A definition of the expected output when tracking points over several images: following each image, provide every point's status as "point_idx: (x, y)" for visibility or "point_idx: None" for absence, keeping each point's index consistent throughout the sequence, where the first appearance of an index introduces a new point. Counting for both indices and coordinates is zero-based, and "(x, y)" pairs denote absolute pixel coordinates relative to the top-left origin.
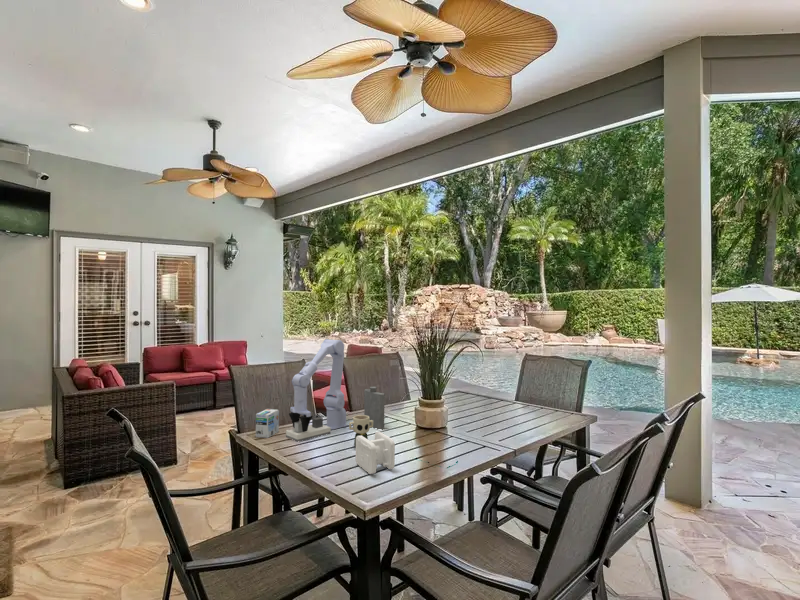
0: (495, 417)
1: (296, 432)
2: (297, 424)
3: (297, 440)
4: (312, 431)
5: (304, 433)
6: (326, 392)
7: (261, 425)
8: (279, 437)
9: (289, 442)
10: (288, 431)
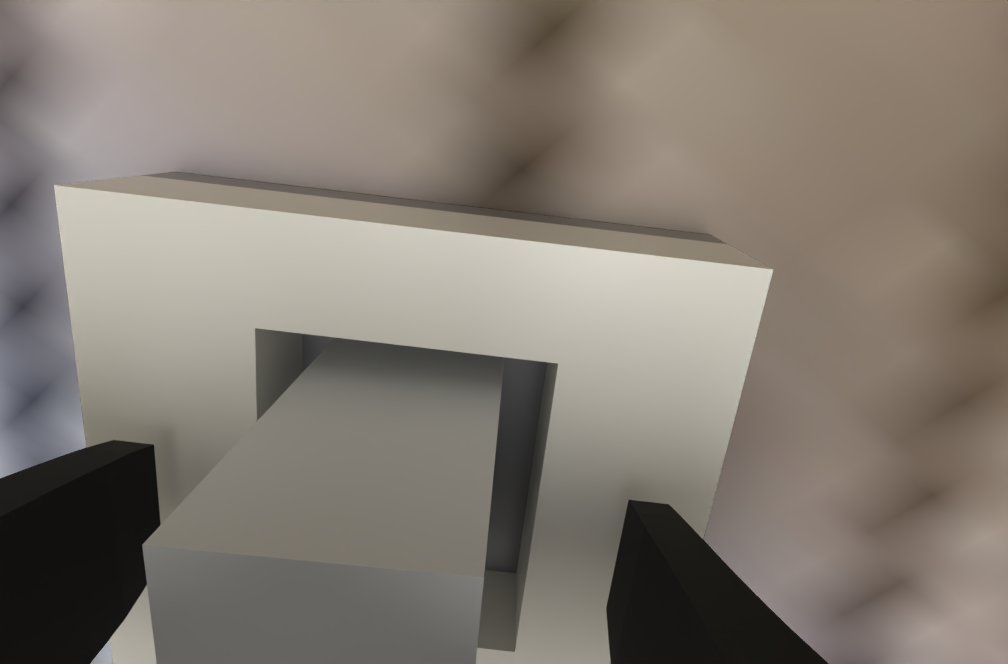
0: None
1: (394, 374)
2: (229, 520)
3: (166, 175)
4: (122, 638)
5: (96, 422)
6: None
7: None
8: (832, 107)
9: (285, 9)
10: (625, 257)
